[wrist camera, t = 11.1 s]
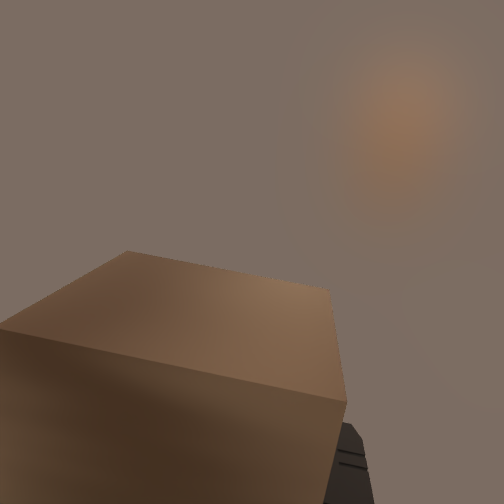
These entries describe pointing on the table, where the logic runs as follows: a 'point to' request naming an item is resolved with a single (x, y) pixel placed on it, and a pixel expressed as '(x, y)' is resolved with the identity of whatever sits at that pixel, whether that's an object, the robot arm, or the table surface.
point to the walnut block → (170, 389)
